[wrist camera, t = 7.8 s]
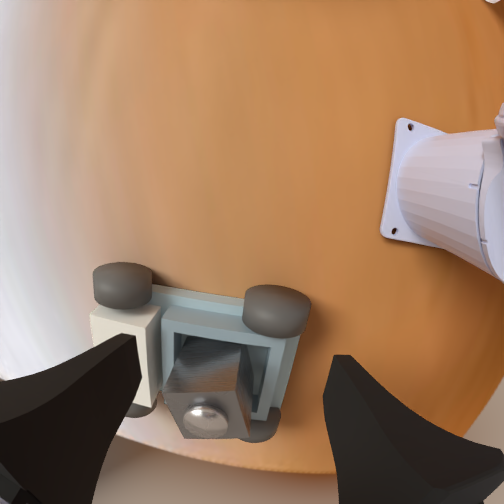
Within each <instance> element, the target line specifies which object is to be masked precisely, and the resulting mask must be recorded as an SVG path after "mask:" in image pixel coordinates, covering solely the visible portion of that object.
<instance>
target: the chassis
mask: <svg viewBox="0 0 504 504" xmlns="http://www.w3.org/2000/svg"><path fill="white" fill-rule="evenodd" d="M93 286H94V298H95V300H96V301H97V302H98V303H99V304H100V305H99V306H98V307H97V308H95V309H94V310H93V311H92V312H91V313H90V314H89V317H90V325H91V332H92V339H93V345H94V347H95V346H97V345H99V344H101V343H102V342H104V341H106V340H108V339H110V338H112V337H114V336H116V335H118V334H120V333H125V334H130V335H136V341H137V348H138V355H139V361H140V367H141V373H142V380H141V382H140V385H139V388H138V391H137V393H136V396H135V399H134V401H133V402H132V404H131V406H130V408H129V410H128V412H127V414H126V415H125V416H126V417H130V418H139V417H143V416H146V415H148V414H150V413H151V412H152V411H153V410H154V409H155V407H156V404H157V400H156V397H157V394H158V392H159V391H163V388H164V386H165V384H166V382H167V380H168V377H169V375H170V373H171V371H172V368H173V366H174V364H175V362H176V360H177V357H178V355H179V353H180V351H181V349H182V346H183V344H184V342H185V340H186V338H187V336H198V337H204V338H209V339H215V340H221V341H228V342H234V343H241V344H247V347H248V352H249V356H250V360H251V365H252V369H253V373H254V384H253V398H252V411H251V424H250V437H249V438H238V439H240V440H242V441H245V442H250V443H259V442H264V441H267V440H269V439H270V438H272V437H273V436H274V434H275V433H276V431H277V427H278V424H279V421H280V418H281V412H280V408H281V405H282V401H283V398H284V394H285V391H286V387H287V384H288V380H289V376H290V373H291V369H292V365H293V362H294V358H295V354H296V350H297V346H298V342H299V338H300V334H302V333H303V332H304V331H305V328H306V324H307V320H308V316H309V312H310V308H311V301H310V299H309V298H308V297H307V296H305V295H304V294H302V293H301V292H299V291H296V290H294V289H291V288H287V287H283V286H277V285H258V286H254V287H251V288H249V289H248V290H247V291H246V293H245V299H242V298H235V297H228V296H222V295H215V294H209V293H203V292H197V291H191V290H185V289H179V288H173V287H167V286H162V285H156V284H152V271H151V270H150V269H149V268H147V267H145V266H143V265H140V264H135V263H128V262H116V263H109V264H105V265H102V266H99V267H97V268H96V269H95V270H94V271H93ZM164 404H167V403H166V401H165V399H164Z"/></svg>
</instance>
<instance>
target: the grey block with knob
mask: <svg viewBox="0 0 504 504" xmlns="http://www.w3.org/2000/svg"><path fill="white" fill-rule="evenodd" d="M253 384H254V373H253V369H252V365H251V360H250V356H249V352H248V347H247V344H241V343H234V342H228V341H221V340H215V339H209V338H204V337H198V336H187V338H186V340H185V342H184V344H183V346H182V349H181V351H180V353H179V355H178V357H177V360H176V362H175V364H174V366H173V368H172V371H171V373H170V375H169V377H168V380H167V382H166V384H165V386H164V388H163V391H162V395H163V397H164V399H165V401H166V403H167V405H168V408H169V410H170V412H171V414H172V416H173V418H174V420H175V422H176V424H177V426H178V427H179V429H180V431H181V433H182V435H183V437H184V438H186V439H232V438H249V437H250V424H251V411H252V398H253Z"/></svg>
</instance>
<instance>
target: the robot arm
mask: <svg viewBox="0 0 504 504" xmlns="http://www.w3.org/2000/svg"><path fill="white" fill-rule="evenodd" d="M494 121H495V125H496V128H497V129H490V130H480V131H471V132H462V133H454V134H447V133H445V132H442V131H440V130H437V129H434V128H432V127H429V126H426V125H424V124H421V123H418V122H415V121H412V120H409V119H406V118H400V119H398V120H397V121H396V126H395V136H394V145H393V153H392V161H391V168H390V175H389V181H388V187H387V193H386V199H385V205H384V210H383V215H382V220H381V225H380V233H381V235H382V236H384V237H386V238H390V239H396V240H401V241H406V242H411V243H417V244H422V245H427V246H432V247H437V248H442V249H445V250H447V251H449V252H451V253H453V254H455V255H457V256H458V257H460V258H462V259H464V260H466V261H467V262H469V263H471V264H473V265H475V266H476V267H478V268H480V269H481V270H483V271H485V272H487V273H488V274H490V275H492V276H493V277H495V278H497V279H498V280H500V281H501V282H502V283H503V284H504V103H502V105H501V108H500V111H499V115H497V116H496V118H495V120H494ZM408 124H409V125H411V127H412V130H411V131H410V130H409V129H408ZM393 228H396V233H395V234H392V229H393ZM141 380H142V373H141V367H140V361H139V355H138V348H137V341H136V335H130V334H125V333H120V334H118V335H116V336H114V337H112V338H110V339H108V340H106V341H104V342H102V343H101V344H99V345H97V346H95V347H93V348H91V349H89V350H88V351H86V352H84V353H82V354H80V355H78V356H76V357H74V358H72V359H70V360H68V361H66V362H63V363H61V364H59V365H57V366H55V367H52V368H50V369H47V370H44V371H41V372H38V373H36V374H32V375H29V376H25V377H21V378H17V379H13V380H8V381H2V382H0V504H92V500H93V496H94V491H95V488H96V484H97V481H98V477H99V474H100V471H101V467H102V465H103V462H104V459H105V456H106V453H107V451H108V448H109V446H110V444H111V441H112V439H113V438H114V436H115V434H116V432H117V430H118V428H119V426H120V425H121V423H122V421H123V419H124V417H125V415H126V414H127V412H128V410H129V408H130V406H131V404H132V402H133V401H134V399H135V396H136V393H137V391H138V388H139V385H140V382H141ZM323 405H324V415H325V422H326V426H327V431H328V435H329V439H330V444H331V448H332V452H333V457H334V461H335V466H336V472H337V480H338V493H339V504H484V502H483V500H484V499H486V498H487V496H489V495H490V494H491V493H492V492H493V491H494V490H495V489H496V488H497V487H498V486H499V485H500V484H501V483H502V482H503V481H504V454H503V453H502V451H501V450H500V449H497V448H493V447H490V446H486V445H482V444H478V443H475V442H472V441H469V440H467V439H464V438H461V437H459V436H456V435H454V434H452V433H450V432H448V431H446V430H444V429H442V428H440V427H438V426H436V425H434V424H432V423H431V422H429V421H427V420H425V419H424V418H422V417H421V416H419V415H418V414H416V413H415V412H413V411H412V410H410V409H409V408H408V407H406V406H405V405H404V404H403V403H401V402H400V401H399V400H398V399H396V398H395V397H394V396H393V395H392V394H390V393H389V392H388V391H387V390H386V389H385V388H384V387H383V386H381V385H380V384H379V383H378V382H377V381H376V380H375V379H374V378H373V377H372V376H371V375H370V374H369V373H368V372H367V371H366V370H365V369H364V368H363V367H362V366H361V365H360V364H359V363H358V362H357V361H356V360H355V359H354V358H353V357H352V356H351V355H334V357H333V361H332V364H331V368H330V372H329V376H328V379H327V383H326V386H325V390H324V393H323Z"/></svg>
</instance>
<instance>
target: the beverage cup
mask: <svg viewBox="0 0 504 504" xmlns="http://www.w3.org/2000/svg"><path fill="white" fill-rule="evenodd" d="M486 1H487V2H490V3H496V2H498V1H500V0H486Z"/></svg>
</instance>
